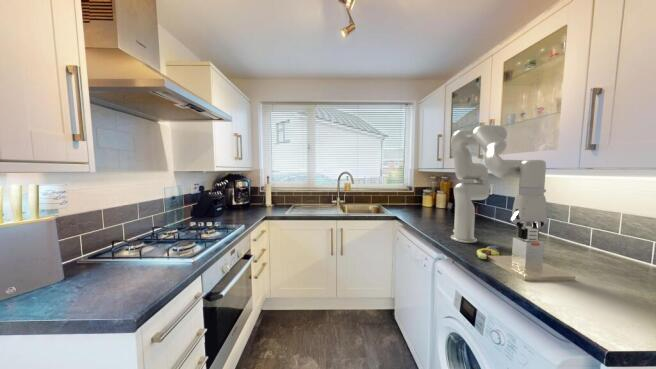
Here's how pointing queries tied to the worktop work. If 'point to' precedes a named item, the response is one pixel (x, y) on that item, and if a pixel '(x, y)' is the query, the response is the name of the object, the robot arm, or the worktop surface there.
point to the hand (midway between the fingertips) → (528, 238)
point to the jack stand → (529, 263)
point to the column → (531, 234)
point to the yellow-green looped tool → (488, 252)
